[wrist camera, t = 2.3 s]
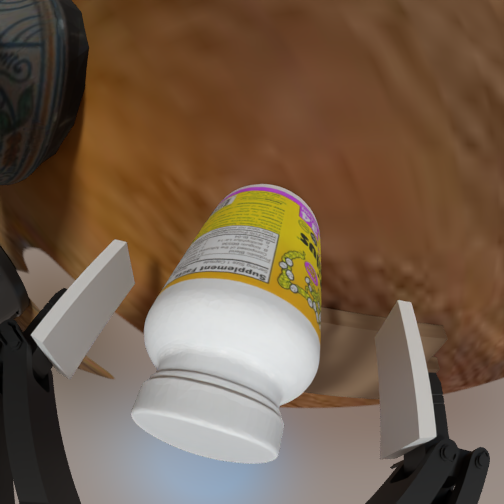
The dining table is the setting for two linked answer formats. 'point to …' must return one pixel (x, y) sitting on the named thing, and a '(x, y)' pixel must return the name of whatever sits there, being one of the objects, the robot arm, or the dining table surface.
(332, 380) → the walnut board
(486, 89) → the dining table surface
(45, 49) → the beer stein
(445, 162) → the dining table surface
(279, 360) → the supplement bottle
